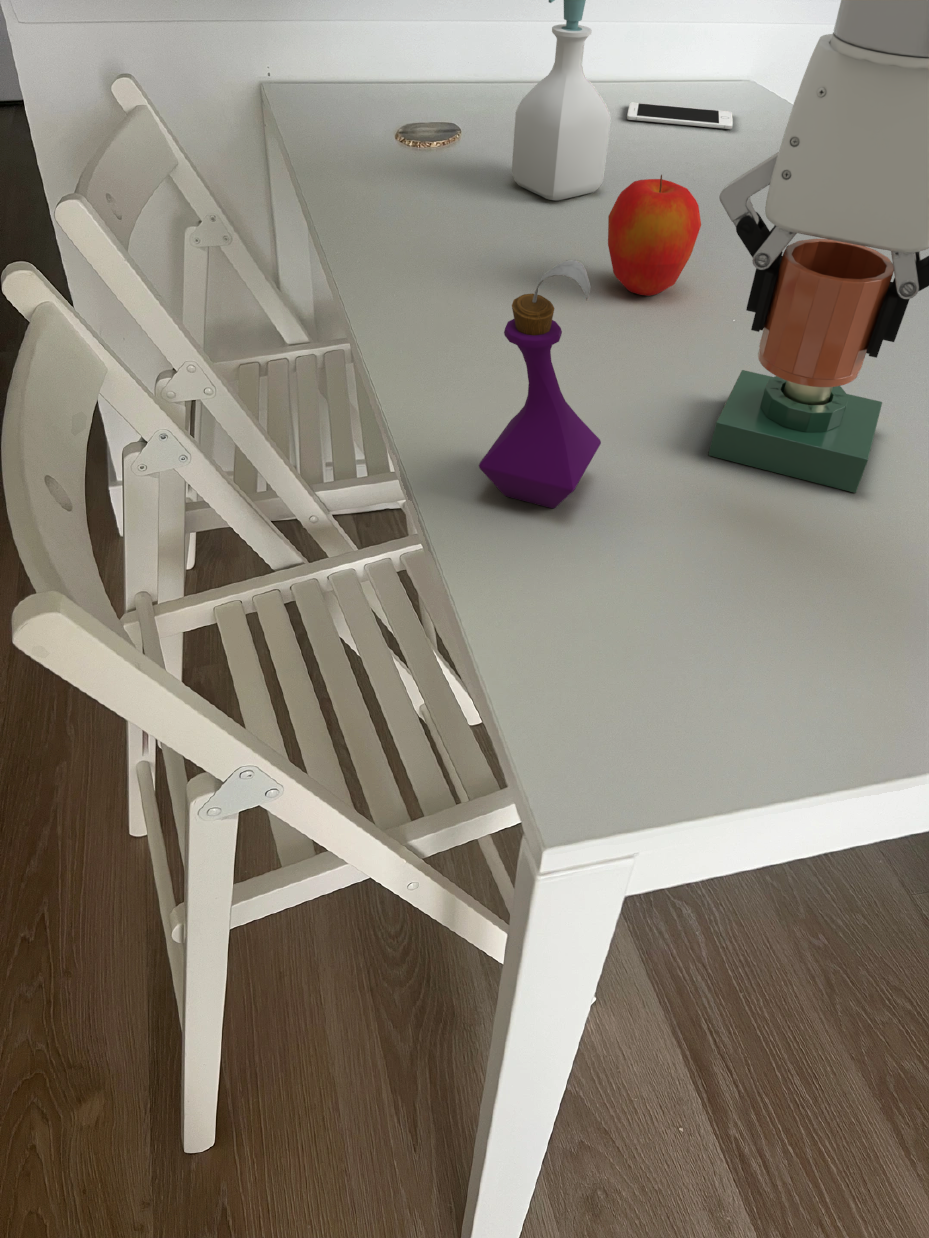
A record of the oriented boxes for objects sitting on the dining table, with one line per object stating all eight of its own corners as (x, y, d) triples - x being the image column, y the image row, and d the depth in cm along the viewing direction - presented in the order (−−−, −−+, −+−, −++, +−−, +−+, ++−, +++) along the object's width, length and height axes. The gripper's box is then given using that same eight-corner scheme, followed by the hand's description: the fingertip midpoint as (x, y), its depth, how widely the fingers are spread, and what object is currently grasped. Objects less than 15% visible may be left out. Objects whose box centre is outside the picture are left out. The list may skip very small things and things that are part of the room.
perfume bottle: (475, 502, 76) (488, 273, 64) (509, 454, 81) (526, 234, 69) (568, 526, 74) (599, 296, 62) (596, 475, 79) (630, 253, 67)
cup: (865, 353, 67) (899, 251, 62) (852, 397, 63) (888, 290, 58) (767, 332, 69) (794, 231, 64) (748, 373, 64) (775, 268, 60)
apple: (590, 299, 104) (605, 181, 96) (611, 268, 110) (627, 154, 102) (677, 316, 102) (701, 196, 94) (693, 283, 108) (716, 168, 100)
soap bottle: (504, 184, 129) (517, -21, 114) (560, 172, 133) (579, -27, 118) (551, 207, 123) (571, -5, 108) (608, 194, 128) (635, -12, 113)
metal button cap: (831, 392, 82) (838, 369, 80) (824, 412, 79) (831, 389, 78) (787, 382, 82) (793, 359, 81) (779, 401, 80) (785, 378, 79)
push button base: (870, 434, 86) (889, 382, 82) (855, 493, 79) (875, 439, 75) (733, 401, 89) (746, 350, 86) (707, 455, 82) (720, 402, 79)
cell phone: (732, 130, 150) (733, 125, 150) (626, 120, 152) (627, 115, 152) (731, 115, 156) (731, 111, 156) (629, 106, 158) (629, 102, 157)
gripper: (1086, 30, 53) (959, 341, 65) (761, -11, 57) (699, 286, 69) (1090, 60, 47) (952, 393, 59) (733, 13, 52) (671, 329, 64)
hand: (816, 333), depth 64 cm, fingers closed on cup, 6 cm apart
